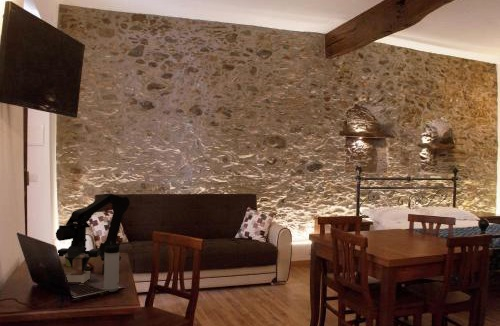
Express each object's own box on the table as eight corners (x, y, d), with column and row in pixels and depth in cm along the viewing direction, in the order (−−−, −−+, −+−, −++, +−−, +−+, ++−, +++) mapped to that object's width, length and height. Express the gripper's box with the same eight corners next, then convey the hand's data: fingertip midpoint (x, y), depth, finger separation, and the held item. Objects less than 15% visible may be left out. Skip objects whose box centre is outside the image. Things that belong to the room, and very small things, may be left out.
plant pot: (58, 266, 221) (59, 250, 221) (71, 262, 230) (71, 247, 230) (73, 268, 218) (73, 251, 218) (85, 264, 227) (85, 248, 227)
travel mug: (121, 289, 184) (123, 244, 184) (107, 292, 179) (109, 246, 179) (114, 286, 188) (115, 242, 188) (100, 289, 183) (102, 244, 183)
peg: (84, 276, 196) (84, 257, 196) (80, 278, 192) (81, 259, 192) (75, 276, 196) (76, 257, 196) (72, 278, 192) (72, 259, 192)
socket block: (89, 279, 198) (90, 271, 198) (83, 284, 190) (83, 275, 190) (73, 279, 198) (73, 270, 198) (65, 284, 190) (66, 275, 190)
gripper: (51, 240, 186) (50, 275, 186) (93, 241, 186) (92, 276, 186) (62, 236, 197) (61, 269, 197) (101, 237, 197) (100, 269, 197)
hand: (78, 271), depth 194 cm, fingers closed on peg, 4 cm apart
